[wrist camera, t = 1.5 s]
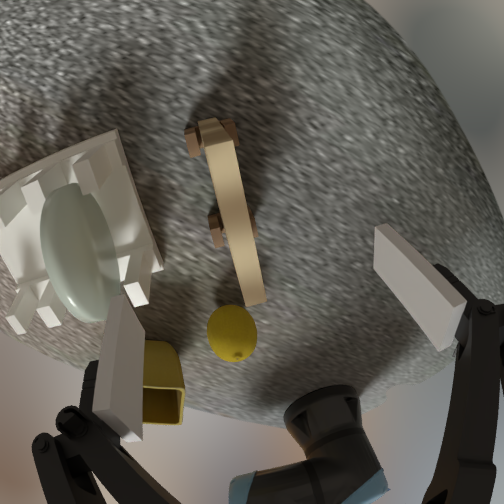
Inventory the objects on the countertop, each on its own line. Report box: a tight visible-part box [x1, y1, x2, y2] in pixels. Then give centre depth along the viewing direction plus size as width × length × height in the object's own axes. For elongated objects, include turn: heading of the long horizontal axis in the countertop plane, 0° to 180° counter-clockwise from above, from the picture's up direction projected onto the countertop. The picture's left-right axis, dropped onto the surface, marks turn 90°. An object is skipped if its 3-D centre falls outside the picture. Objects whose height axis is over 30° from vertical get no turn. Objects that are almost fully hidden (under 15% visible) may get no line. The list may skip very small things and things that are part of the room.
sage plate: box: [40, 183, 120, 323], centre depth 23 cm, size 11×1×11 cm, turn 11°
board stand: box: [184, 118, 258, 248], centre depth 29 cm, size 11×4×3 cm, turn 11°
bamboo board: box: [198, 117, 267, 307], centre depth 25 cm, size 12×2×11 cm, turn 11°
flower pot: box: [142, 340, 185, 425], centre depth 36 cm, size 9×9×9 cm
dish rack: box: [0, 128, 164, 335], centre depth 26 cm, size 15×18×7 cm
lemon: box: [207, 305, 257, 362], centre depth 35 cm, size 6×6×8 cm
